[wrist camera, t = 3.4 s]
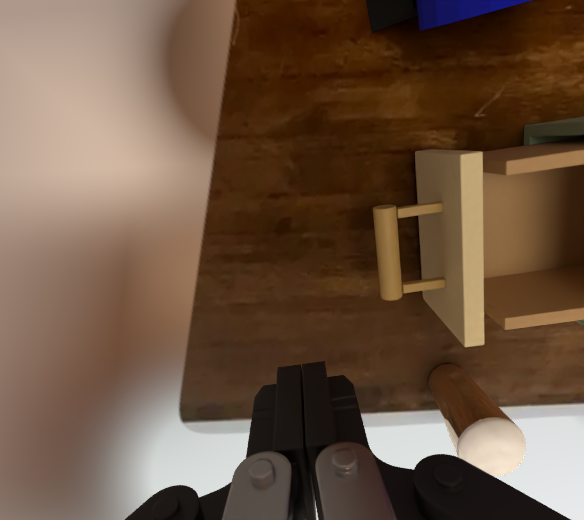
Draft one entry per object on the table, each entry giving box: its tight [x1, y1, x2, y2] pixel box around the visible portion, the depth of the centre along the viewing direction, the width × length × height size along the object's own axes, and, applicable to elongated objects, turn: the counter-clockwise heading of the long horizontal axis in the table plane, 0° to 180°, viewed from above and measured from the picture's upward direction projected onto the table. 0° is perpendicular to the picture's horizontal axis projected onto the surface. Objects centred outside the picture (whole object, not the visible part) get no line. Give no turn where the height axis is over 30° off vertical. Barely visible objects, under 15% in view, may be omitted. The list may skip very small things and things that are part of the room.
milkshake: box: [428, 363, 526, 476], centre depth 30 cm, size 4×5×10 cm
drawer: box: [373, 137, 584, 347], centre depth 26 cm, size 18×11×8 cm, turn 98°
